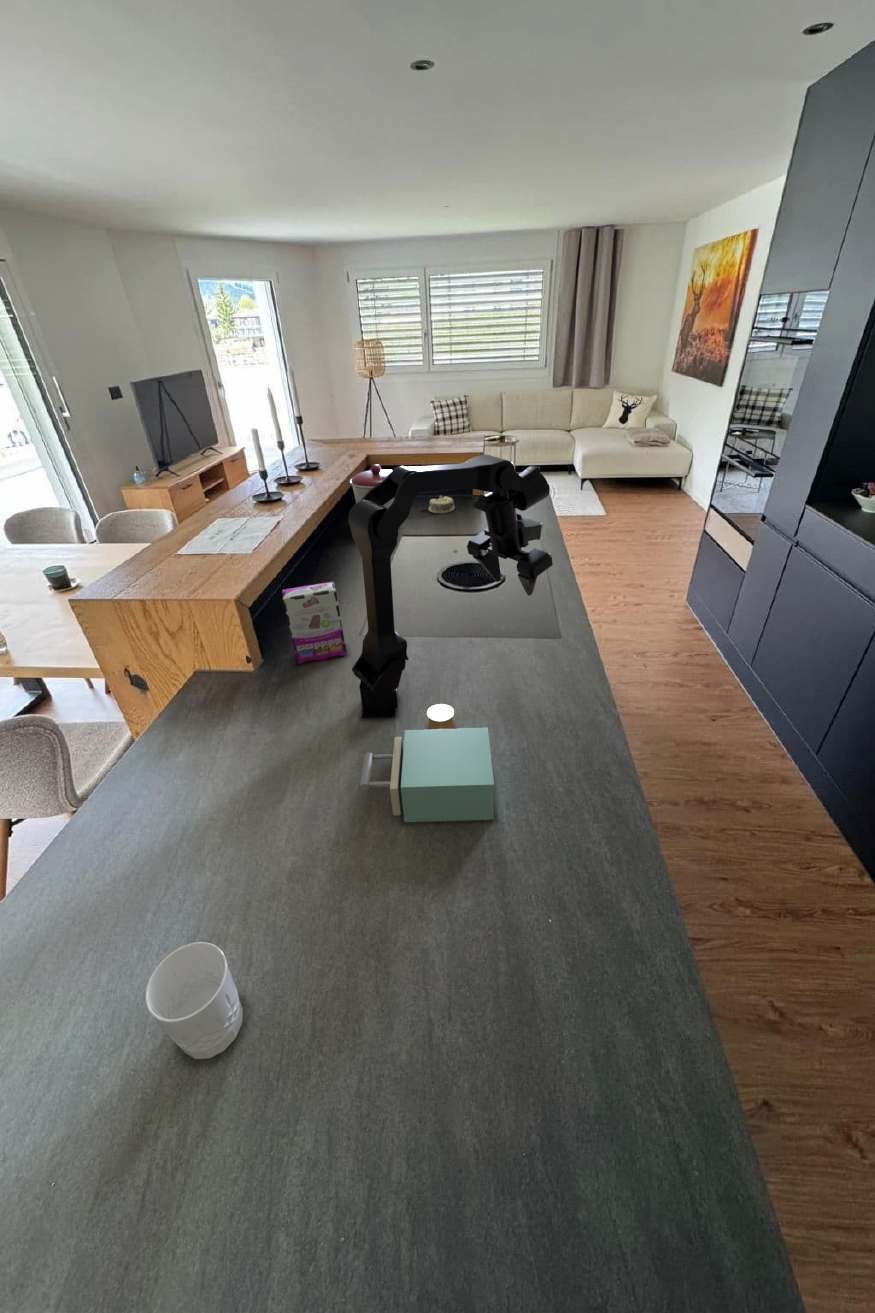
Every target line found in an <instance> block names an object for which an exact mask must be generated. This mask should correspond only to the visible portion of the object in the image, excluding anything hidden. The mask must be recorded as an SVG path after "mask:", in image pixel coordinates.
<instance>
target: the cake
mask: <svg viewBox="0 0 875 1313" xmlns="http://www.w3.org/2000/svg"><path fill="white" fill-rule="evenodd" d="M438 497H439V498H431V499H430V500H429V506H428V508H427V510H428V512H430V513H433V514H448V513H451V512H453V511H454V510H455V509H456V507H455V501H454V499H453V498H452V497H450V496H445V495H444V496H443V495H441V494H440V495H439V496H438Z"/></svg>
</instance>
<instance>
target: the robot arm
mask: <svg viewBox="0 0 875 1313" xmlns="http://www.w3.org/2000/svg"><path fill="white" fill-rule="evenodd" d="M391 470H392V471H391V473H390V474H389V475H388V476H387V478H386V479H385V480H383V481H382V482H380V483H379V484H378V485H376V486H375V487H373V488H372V489H371V490H369V491H368V492H367V494H366V495H365V496H364V497H363V499H362V500H361V501H359V502H358V503H356V502H355V504H354V505H353V506H352V508H351V509H350V510H349V512H348V525H349V527H350V532H351V536H352V539H353V541H354V543H355V545H356V547H357V549H358V551H359V554H360V556H361V561H362V562H361V563H362V574H363V584H364V585H363V586H364V596H365V607H366V618H367V632H366V633H365V636H364V637H363V640H362V648H361V654H360V655H359V656H358V659H357V660H356V661H355V663H354V665H353V666H352V667H351V671H352V673H353V675H354V676H355V677H356V678H358V679H359V680H360V682H359V687H358V688H359V694H360V701H361V708H362V710H361V718H362V719H376V718H377V719H378V718H380V719H381V718H394V717H396V714H397V709H398V708H399V703H400V697H399V686H400V682H401V678H402V674H403V671H405V669H406V661H409V657H408V653H407V650H408V641H407V640H406V639H405V638H404V637H402V636H401V635H400V634H398V633H397V631H396V630H395V629H396V628H395V614H394V599H393V598H394V596H393V579H392V563H391V562H392V561H391V559H392V555H393V553H394V551H395V549H396V547H397V545H398V539H399V529H400V527H401V526H402V524H404V522H405V521H406V520H407V519H408V517H409V515H410V512H411V509H412V506H413V504H414V500H415V499H416V498H417V496H418V495H419V494H420V495H421V494H429V493H430V494H431V493H438V492H439V493H440V492H449V491H460V490H470V489H471V490H477V491H482V492H486V494H483V493H480V494H478V498H477V499H476V500H475V501H474V503H473V506H472V507H473V508H474V509H476V510H478V511H481V512H483V513H484V515H485V519H486V524H487V528H485V529H483V530H482V531H481V532H480V533H477V534H476V535H475V536H473V537H472V538H470V539H469V540H468V542H467V545H466V548H467V553H468V555H470V556H472V558H473V559H475V561H477V562H478V563H479V564H480V565H481V567H483V569H484V570H485V571H486V572H487V573H488V574H489V575H490V577H491V578H492V579H493V580H494V581H495V582H496V583H499V582H500V581H501V580H502V575H501V574H502V572H501V566H500V558H501V559H503V560H507V559H510V560H513V561H516V562H517V563H516V565H515V566H516V571H517V572H518V573H517V574H516V575H517V578H518V580H519V582H520V584H521V586H522V588H523V590H524V592H525V593H526V595H527V596H528V597H530V596H531V595H533V593H534V590H535V586H536V584H537V579H538V577H539V576H540V575H541V574H542V573H544V572H545V571H546V570H548V569H549V568H551V567H552V566H553V564H554V563H553V555H552V553H549V552H546V551H544V550H542V549H539V548H536V547H535V548H533V549H531V550H530V551H529V552H527V551H524V550H522V548H527V547H528V546H529V542H531V541H535V540H536V541H539V540H541V537H542V530H543V529H542V528H543V523H542V522H539V521H536V520H533V519H530V518H525V517H522V514H520V513H517V511H516V510H518V511H521V512H524V511H526V510H528V509H530V508H532V507H533V506H535V505H536V504H538V503H540V502H542V501H543V500H545V499H546V498H547V497H549V495H550V491H551V489H550V484H549V482H548V480H547V479H546V477H545V476H544V475H543V474H542V473H541V468H540V466H536V465H533V464H531V465H530V466H528V467H527V468H526V469H524V470H523V471H521V472H519V473H518V472H517V471H516V468H515V466H514V464H513V462H512V461H511V460H509V459H505V458H502V457H498V456H494V455H490V454H487V453H486V454H485V453H484V454H480V455H477V456H474V457H470V458H469V459H467V460H466V461H464V462H461V463H451V464H450V463H449V464H436V465H421V466H404V465H400V466H397V467H394V468H393V469H391ZM393 498H394V500H393V503H392V504H391V505H390V506H389V508H386V507H383V505H384V504H386V503H387V502H389V501H390V500H392V499H393Z"/></svg>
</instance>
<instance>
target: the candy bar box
mask: <svg viewBox="0 0 875 1313" xmlns="http://www.w3.org/2000/svg"><path fill="white" fill-rule="evenodd" d="M282 602H283V607H284V610H285V614H286V615H285V616H286V619H287V624H288V628H289V632H290V636H291V640H292V645H293V649H294V654H295V659H296V662H297V663H296V664H298V665H301V664H308V663H312V662H318V661H323V660H328V659H333V658H337V657H338V658H339V657H343V656H347V654H348V653H347V652H348V651H347V646H346V640H345V635H344V629H343V624H342V618H341V611H340V606H339V600H338V594H337V590H336V587H335V583H334V581H328V582H323V583H322V582H321V583H316V584H310V585H304V586H303V585H302V586H297V587H292V588H286V589H282Z"/></svg>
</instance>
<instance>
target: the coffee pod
mask: <svg viewBox="0 0 875 1313" xmlns="http://www.w3.org/2000/svg"><path fill="white" fill-rule="evenodd" d="M426 716H427V718H428V730H429V729H454V716H455V710H454V708H453V707H452V706H450V705H448V704H445V703H444V704H443V703H439V704H437V703H436V704H434V705H432V706H430V707H429V708H428V709H427V711H426Z"/></svg>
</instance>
